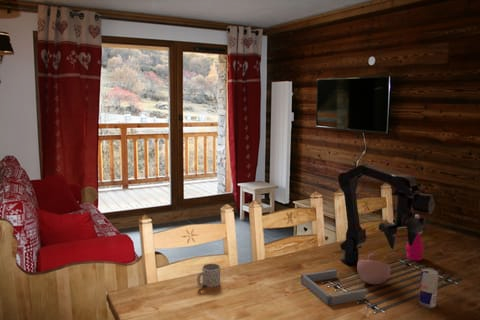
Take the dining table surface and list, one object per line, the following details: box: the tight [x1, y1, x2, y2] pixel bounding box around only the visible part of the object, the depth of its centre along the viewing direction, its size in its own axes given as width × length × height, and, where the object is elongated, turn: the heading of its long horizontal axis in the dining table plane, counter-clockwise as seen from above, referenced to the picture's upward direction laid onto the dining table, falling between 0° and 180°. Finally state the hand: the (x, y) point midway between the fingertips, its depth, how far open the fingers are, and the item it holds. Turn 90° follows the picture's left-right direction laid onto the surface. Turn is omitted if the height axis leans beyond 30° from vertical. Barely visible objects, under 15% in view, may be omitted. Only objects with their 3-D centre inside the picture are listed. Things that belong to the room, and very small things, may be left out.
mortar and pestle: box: [356, 252, 391, 286], centre depth 156 cm, size 12×12×11 cm
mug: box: [196, 263, 221, 288], centre depth 154 cm, size 10×7×7 cm, turn 134°
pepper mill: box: [405, 214, 425, 262], centre depth 181 cm, size 7×7×20 cm
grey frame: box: [300, 269, 367, 306], centre depth 151 cm, size 19×15×3 cm
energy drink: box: [418, 267, 439, 309], centre depth 140 cm, size 5×5×12 cm
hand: (401, 247), depth 159 cm, fingers open, 9 cm apart
